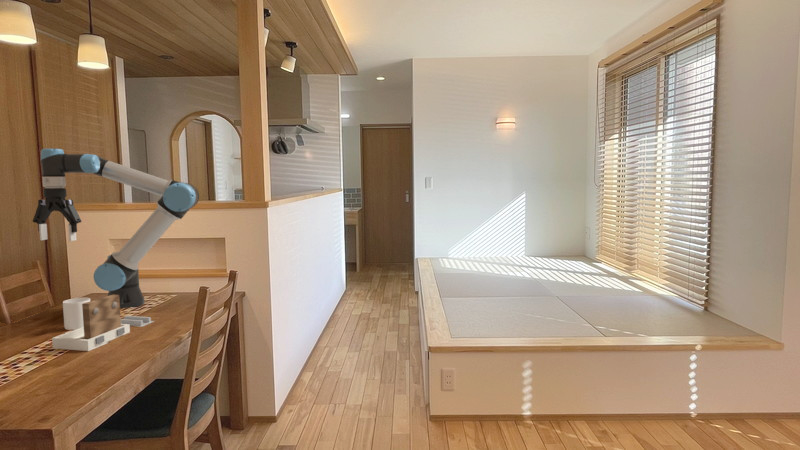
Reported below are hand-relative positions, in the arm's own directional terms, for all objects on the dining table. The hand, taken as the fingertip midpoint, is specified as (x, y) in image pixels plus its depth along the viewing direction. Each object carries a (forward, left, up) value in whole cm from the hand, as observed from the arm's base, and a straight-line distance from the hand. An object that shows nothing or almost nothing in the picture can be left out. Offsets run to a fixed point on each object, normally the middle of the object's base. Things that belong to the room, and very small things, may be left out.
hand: (58, 240), depth 191 cm
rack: (+4, +36, -32) cm, 48 cm away
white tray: (+23, +36, -32) cm, 53 cm away
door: (+23, +41, -31) cm, 56 cm away
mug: (+11, +20, -32) cm, 39 cm away
